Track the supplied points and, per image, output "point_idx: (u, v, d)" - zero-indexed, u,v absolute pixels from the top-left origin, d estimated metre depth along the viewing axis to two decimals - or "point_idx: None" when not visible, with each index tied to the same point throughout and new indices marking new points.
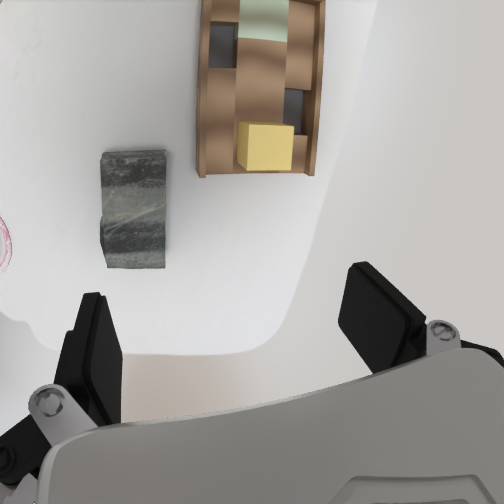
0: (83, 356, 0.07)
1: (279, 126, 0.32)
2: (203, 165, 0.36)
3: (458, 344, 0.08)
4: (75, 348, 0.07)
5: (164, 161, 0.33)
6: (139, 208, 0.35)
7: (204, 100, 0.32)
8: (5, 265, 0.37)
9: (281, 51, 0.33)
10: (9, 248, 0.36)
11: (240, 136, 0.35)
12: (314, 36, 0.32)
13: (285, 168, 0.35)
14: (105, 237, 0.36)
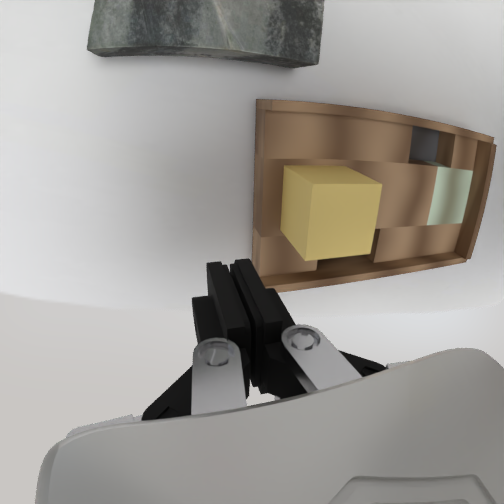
0: (239, 310, 0.09)
1: (372, 231, 0.21)
2: (293, 107, 0.19)
3: (328, 343, 0.08)
4: (227, 305, 0.09)
5: (312, 60, 0.17)
6: (228, 4, 0.14)
7: (387, 117, 0.21)
8: None
9: (418, 219, 0.28)
10: None
11: (333, 169, 0.22)
12: (429, 256, 0.30)
13: (309, 251, 0.20)
14: None
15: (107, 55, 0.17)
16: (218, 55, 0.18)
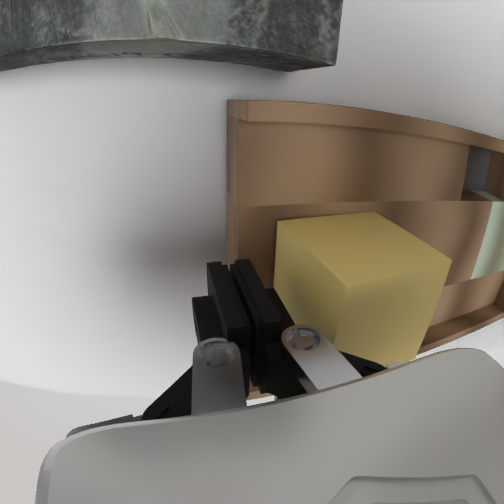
0: (239, 310, 0.09)
1: (424, 330, 0.12)
2: (290, 115, 0.10)
3: (328, 343, 0.08)
4: (227, 305, 0.09)
5: (324, 56, 0.08)
6: None
7: (445, 134, 0.12)
8: None
9: (462, 274, 0.19)
10: None
11: (363, 225, 0.13)
12: (467, 315, 0.21)
13: None
14: None
15: None
16: (152, 52, 0.10)
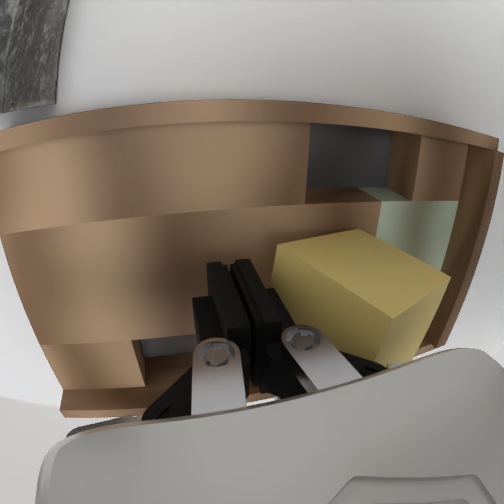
0: (239, 310, 0.09)
1: (419, 343, 0.12)
2: None
3: (328, 343, 0.08)
4: (227, 305, 0.09)
5: None
6: None
7: (211, 113, 0.09)
8: None
9: None
10: None
11: (360, 245, 0.12)
12: None
13: None
14: None
15: None
16: None
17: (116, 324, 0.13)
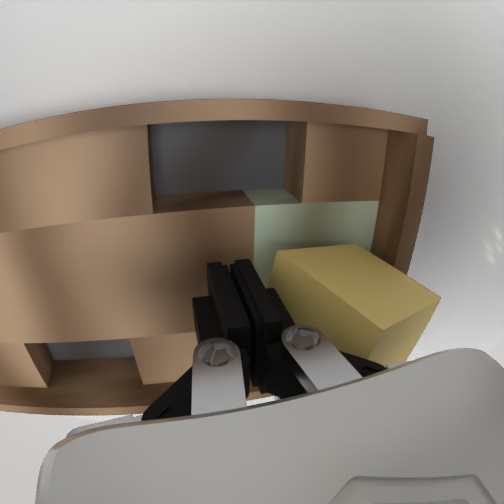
0: (239, 310, 0.09)
1: (404, 359, 0.13)
2: None
3: (328, 343, 0.08)
4: (227, 305, 0.09)
5: None
6: None
7: (28, 135, 0.08)
8: None
9: None
10: None
11: (356, 260, 0.13)
12: None
13: None
14: None
15: None
16: None
17: (8, 327, 0.12)
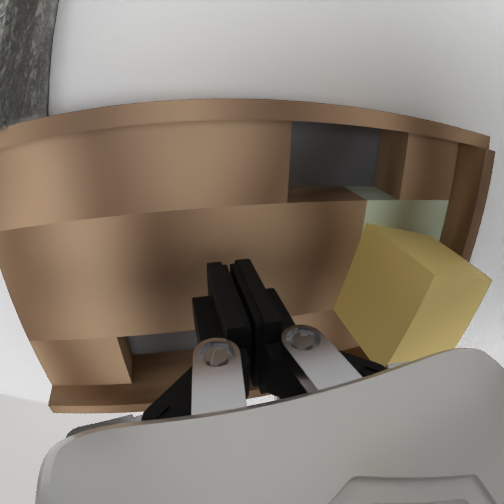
0: (239, 310, 0.09)
1: (459, 336, 0.13)
2: None
3: (328, 343, 0.08)
4: (227, 305, 0.09)
5: None
6: None
7: (188, 113, 0.09)
8: None
9: (327, 300, 0.16)
10: None
11: (427, 242, 0.14)
12: (356, 349, 0.18)
13: None
14: None
15: None
16: None
17: (101, 320, 0.13)
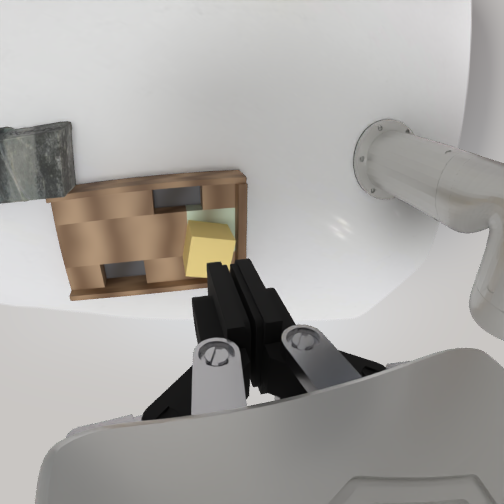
0: (239, 310, 0.09)
1: (229, 266, 0.37)
2: (56, 199, 0.32)
3: (328, 343, 0.08)
4: (227, 305, 0.09)
5: (61, 195, 0.31)
6: (18, 175, 0.28)
7: (116, 191, 0.33)
8: None
9: (178, 252, 0.40)
10: None
11: (215, 226, 0.39)
12: (201, 278, 0.43)
13: (188, 271, 0.36)
14: None
15: None
16: None
17: (94, 257, 0.38)
